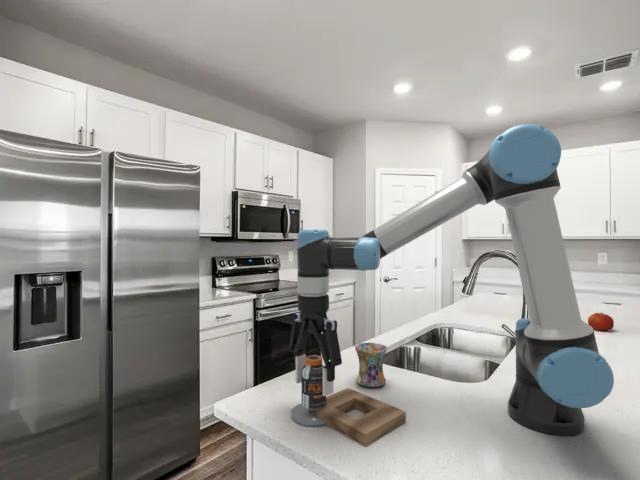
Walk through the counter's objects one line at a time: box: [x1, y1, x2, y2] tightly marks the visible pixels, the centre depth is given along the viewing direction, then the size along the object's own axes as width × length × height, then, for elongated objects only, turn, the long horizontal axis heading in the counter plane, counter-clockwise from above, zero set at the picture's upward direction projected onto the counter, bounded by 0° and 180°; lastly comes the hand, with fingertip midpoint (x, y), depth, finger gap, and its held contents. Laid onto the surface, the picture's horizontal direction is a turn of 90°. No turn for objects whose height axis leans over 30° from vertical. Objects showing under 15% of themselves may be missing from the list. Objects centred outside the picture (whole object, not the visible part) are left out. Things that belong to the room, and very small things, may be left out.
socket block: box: [308, 387, 407, 447], centre depth 84 cm, size 18×14×2 cm
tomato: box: [587, 312, 615, 332], centre depth 163 cm, size 9×9×8 cm
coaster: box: [290, 403, 328, 428], centre depth 86 cm, size 11×11×1 cm
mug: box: [354, 342, 388, 388], centre depth 106 cm, size 12×9×11 cm
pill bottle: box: [300, 354, 327, 409], centre depth 86 cm, size 6×6×11 cm
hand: (313, 387), depth 86 cm, fingers open, 9 cm apart
